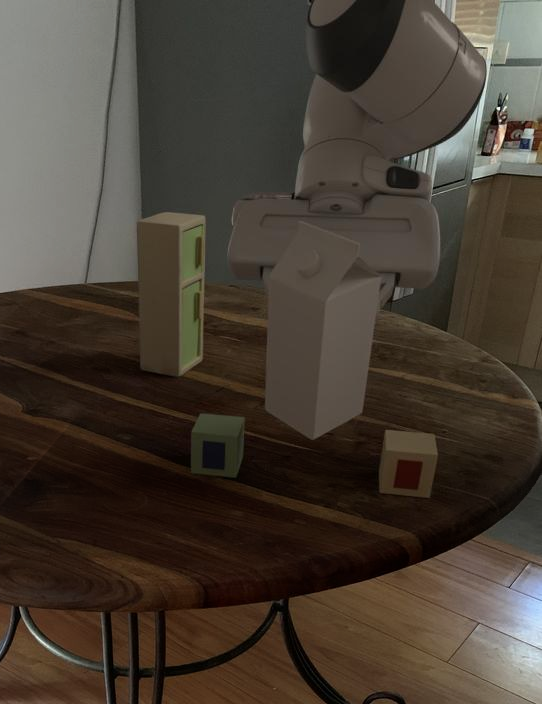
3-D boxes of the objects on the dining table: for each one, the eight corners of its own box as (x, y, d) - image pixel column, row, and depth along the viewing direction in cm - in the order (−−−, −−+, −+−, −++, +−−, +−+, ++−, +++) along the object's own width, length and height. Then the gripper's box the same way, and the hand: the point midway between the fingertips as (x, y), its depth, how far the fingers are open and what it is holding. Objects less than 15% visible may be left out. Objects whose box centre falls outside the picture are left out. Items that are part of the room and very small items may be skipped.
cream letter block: (426, 475, 79) (434, 433, 77) (429, 499, 75) (438, 455, 72) (378, 470, 80) (385, 429, 78) (379, 493, 76) (385, 450, 74)
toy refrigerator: (183, 379, 105) (183, 224, 94) (139, 370, 108) (134, 220, 98) (208, 362, 111) (211, 215, 100) (165, 354, 114) (164, 211, 104)
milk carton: (313, 386, 80) (327, 210, 67) (362, 414, 75) (388, 231, 63) (264, 411, 77) (269, 232, 64) (312, 442, 72) (328, 256, 60)
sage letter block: (242, 457, 84) (244, 417, 81) (235, 478, 79) (237, 436, 77) (199, 453, 85) (200, 413, 82) (190, 473, 80) (190, 432, 78)
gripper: (233, 171, 73) (213, 295, 70) (449, 175, 69) (438, 308, 66) (238, 211, 79) (220, 327, 76) (437, 217, 75) (427, 341, 72)
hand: (323, 318), depth 71 cm, fingers closed on milk carton, 7 cm apart
